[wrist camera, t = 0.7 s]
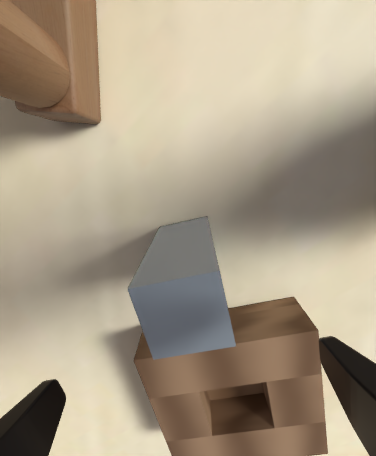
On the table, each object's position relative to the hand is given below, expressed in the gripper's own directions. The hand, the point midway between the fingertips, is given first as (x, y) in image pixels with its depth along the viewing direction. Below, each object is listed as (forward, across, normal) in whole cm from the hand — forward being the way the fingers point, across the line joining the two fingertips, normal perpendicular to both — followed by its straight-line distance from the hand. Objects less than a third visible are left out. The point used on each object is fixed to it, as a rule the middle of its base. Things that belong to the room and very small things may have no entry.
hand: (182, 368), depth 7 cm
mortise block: (+11, -1, +14) cm, 18 cm away
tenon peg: (+12, 0, 0) cm, 12 cm away
